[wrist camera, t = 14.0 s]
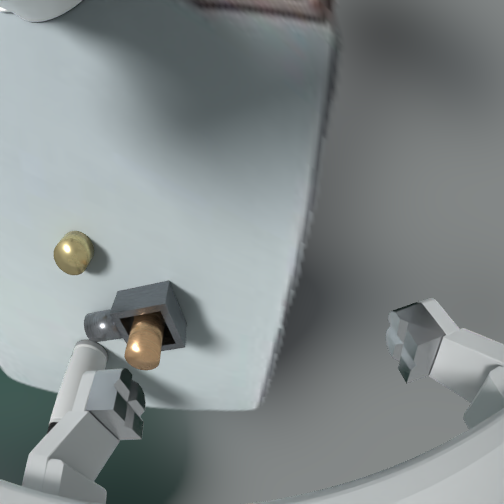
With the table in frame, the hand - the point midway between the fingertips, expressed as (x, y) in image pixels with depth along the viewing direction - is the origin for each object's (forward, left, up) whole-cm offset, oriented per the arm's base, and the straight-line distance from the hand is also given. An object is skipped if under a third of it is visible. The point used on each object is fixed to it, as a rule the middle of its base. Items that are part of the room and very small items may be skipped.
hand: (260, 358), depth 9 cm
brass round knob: (+7, -22, -29) cm, 37 cm away
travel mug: (+26, -30, -29) cm, 49 cm away
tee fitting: (+19, -18, -29) cm, 39 cm away
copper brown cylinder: (+19, -15, -29) cm, 38 cm away
